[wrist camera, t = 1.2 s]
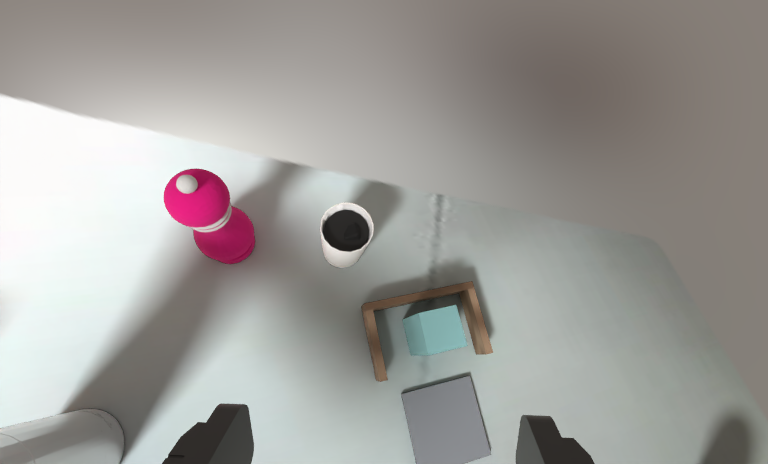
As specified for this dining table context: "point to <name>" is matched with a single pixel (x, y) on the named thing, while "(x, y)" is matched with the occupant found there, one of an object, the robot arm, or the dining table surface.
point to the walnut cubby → (464, 290)
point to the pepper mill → (210, 215)
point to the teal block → (434, 331)
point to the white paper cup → (345, 233)
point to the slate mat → (445, 423)
